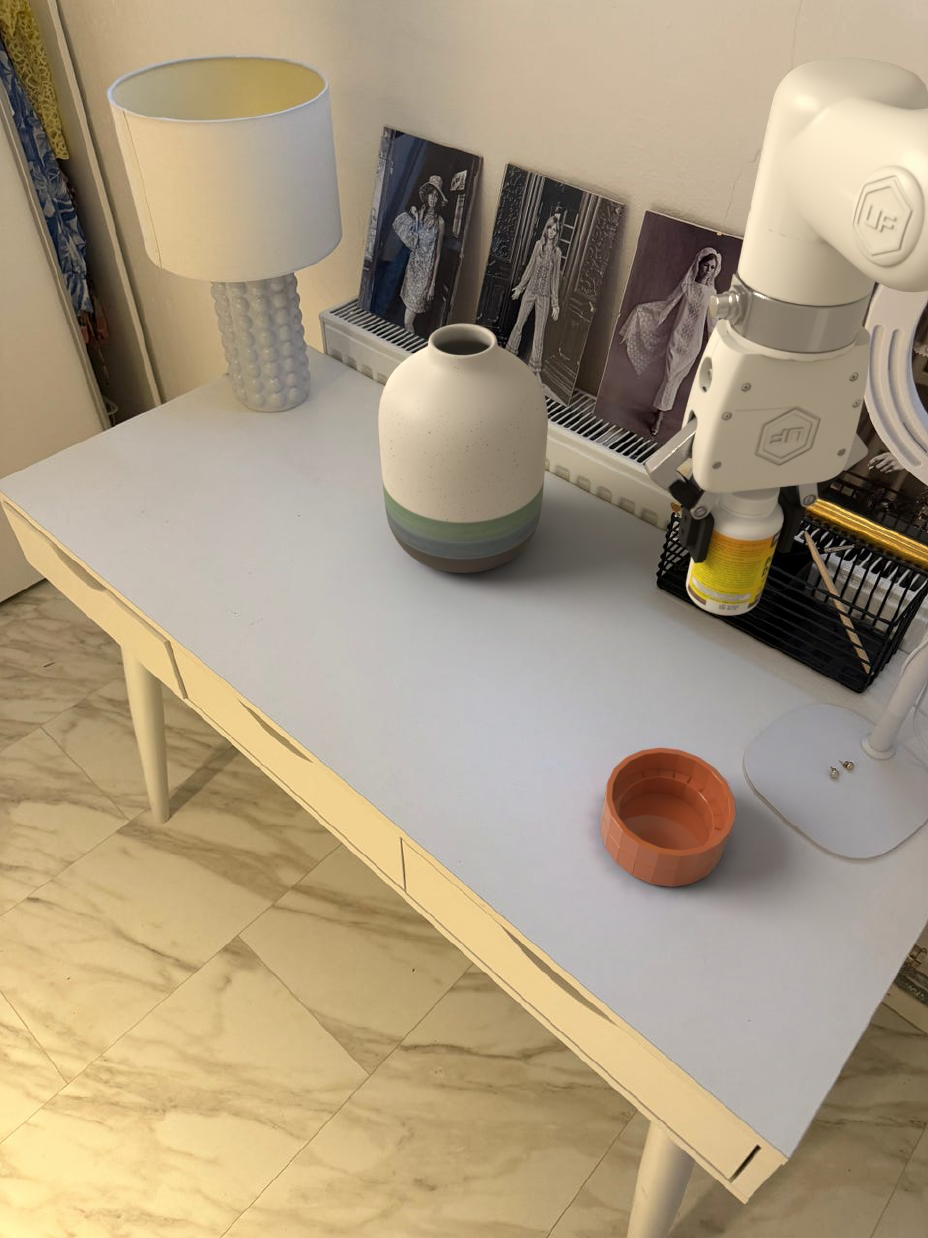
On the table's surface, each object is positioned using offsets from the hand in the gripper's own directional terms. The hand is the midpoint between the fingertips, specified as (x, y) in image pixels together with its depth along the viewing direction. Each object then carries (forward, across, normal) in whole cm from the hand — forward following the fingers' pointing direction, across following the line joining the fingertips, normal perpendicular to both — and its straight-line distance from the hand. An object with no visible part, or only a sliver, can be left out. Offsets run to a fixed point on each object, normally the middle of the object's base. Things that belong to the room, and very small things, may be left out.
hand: (735, 543), depth 67 cm
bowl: (+23, -5, -8) cm, 25 cm away
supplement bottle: (+5, 0, 0) cm, 5 cm away
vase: (+23, -15, +32) cm, 42 cm away
